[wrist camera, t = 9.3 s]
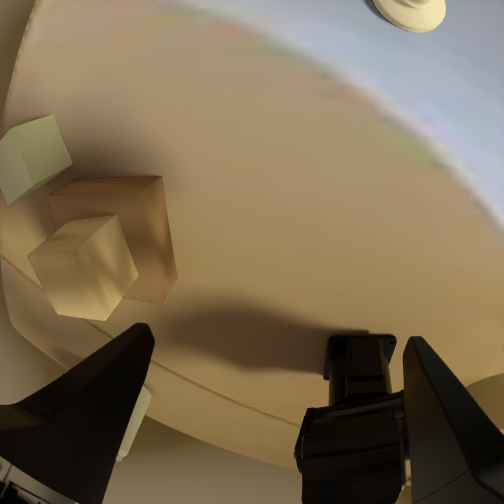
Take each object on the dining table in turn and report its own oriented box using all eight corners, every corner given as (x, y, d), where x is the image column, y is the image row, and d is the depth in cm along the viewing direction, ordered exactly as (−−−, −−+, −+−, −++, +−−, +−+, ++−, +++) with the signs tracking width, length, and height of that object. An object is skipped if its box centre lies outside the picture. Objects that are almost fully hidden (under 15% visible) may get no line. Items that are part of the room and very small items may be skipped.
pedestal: (179, 274, 26) (161, 304, 23) (98, 264, 27) (76, 288, 24) (164, 174, 21) (137, 194, 18) (76, 178, 23) (46, 196, 19)
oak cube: (138, 275, 21) (105, 320, 17) (91, 275, 22) (57, 314, 18) (116, 214, 19) (72, 252, 15) (69, 221, 20) (27, 255, 16)
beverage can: (142, 374, 36) (107, 448, 26) (160, 400, 39) (131, 467, 29) (107, 367, 38) (70, 433, 28) (126, 392, 41) (96, 454, 31)
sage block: (73, 163, 21) (33, 185, 17) (44, 184, 23) (8, 206, 19) (53, 114, 19) (10, 128, 15) (25, 140, 21) (-13, 157, 17)
